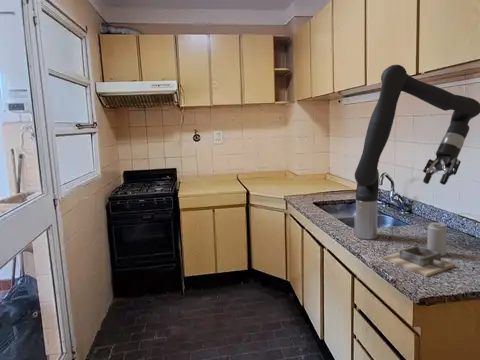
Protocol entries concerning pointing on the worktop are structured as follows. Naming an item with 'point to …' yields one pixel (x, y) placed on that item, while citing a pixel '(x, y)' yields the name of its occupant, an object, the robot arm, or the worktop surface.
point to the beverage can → (437, 237)
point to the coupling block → (419, 260)
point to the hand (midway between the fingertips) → (433, 183)
